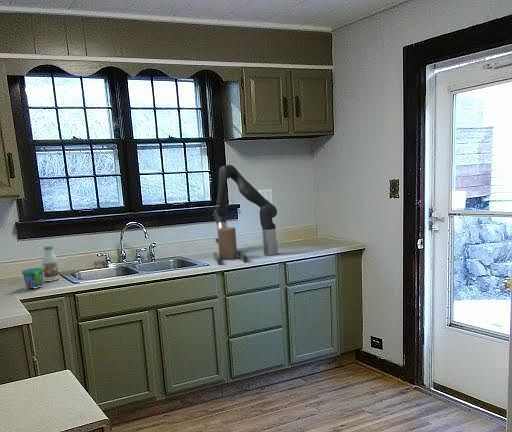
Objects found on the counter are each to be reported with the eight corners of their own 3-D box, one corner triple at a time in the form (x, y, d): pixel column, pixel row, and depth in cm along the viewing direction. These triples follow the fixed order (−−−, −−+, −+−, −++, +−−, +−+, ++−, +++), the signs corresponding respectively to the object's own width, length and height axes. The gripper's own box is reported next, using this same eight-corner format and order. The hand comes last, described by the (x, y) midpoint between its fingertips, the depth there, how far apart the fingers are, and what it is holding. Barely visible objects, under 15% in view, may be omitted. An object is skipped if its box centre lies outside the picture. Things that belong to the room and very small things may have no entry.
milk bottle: (42, 281, 268) (38, 247, 266) (55, 278, 273) (51, 245, 272) (48, 282, 263) (44, 247, 261) (61, 279, 268) (58, 245, 267)
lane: (240, 255, 312) (240, 250, 312) (247, 262, 287) (247, 256, 287) (214, 258, 309) (213, 252, 309) (218, 265, 284) (218, 258, 283)
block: (233, 259, 300) (231, 228, 298) (219, 260, 302) (216, 229, 300) (237, 256, 310) (235, 227, 308) (223, 257, 312) (221, 227, 310)
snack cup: (21, 287, 254) (19, 269, 253) (42, 284, 260) (40, 266, 259) (26, 292, 241) (24, 273, 240) (48, 288, 247) (46, 269, 246)
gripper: (213, 227, 321) (216, 247, 310) (232, 225, 324) (236, 245, 313) (213, 234, 327) (216, 254, 316) (231, 232, 329) (235, 252, 318)
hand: (226, 249), depth 314 cm, fingers closed
